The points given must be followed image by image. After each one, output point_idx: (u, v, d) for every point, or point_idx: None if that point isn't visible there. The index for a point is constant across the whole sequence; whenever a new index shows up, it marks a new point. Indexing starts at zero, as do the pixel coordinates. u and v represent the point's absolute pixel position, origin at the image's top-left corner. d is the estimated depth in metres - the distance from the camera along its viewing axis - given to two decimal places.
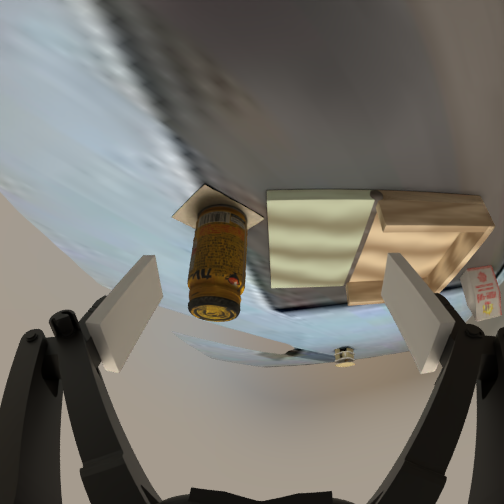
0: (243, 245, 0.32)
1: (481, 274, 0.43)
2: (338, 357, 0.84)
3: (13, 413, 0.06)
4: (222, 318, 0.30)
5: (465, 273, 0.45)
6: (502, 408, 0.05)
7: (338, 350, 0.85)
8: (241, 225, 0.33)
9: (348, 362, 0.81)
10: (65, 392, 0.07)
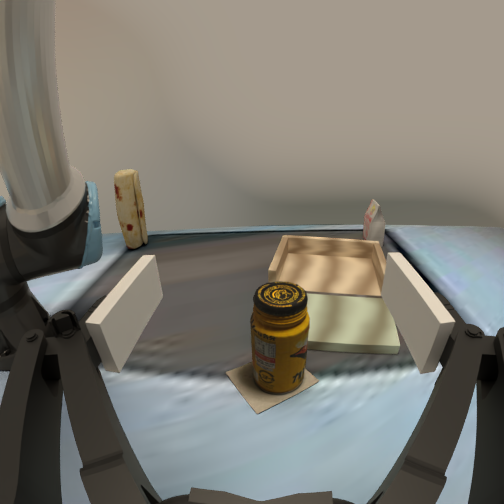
0: None
1: (366, 235, 0.70)
2: None
3: (13, 413, 0.06)
4: (296, 291, 0.28)
5: None
6: (502, 408, 0.05)
7: None
8: None
9: None
10: (65, 392, 0.07)
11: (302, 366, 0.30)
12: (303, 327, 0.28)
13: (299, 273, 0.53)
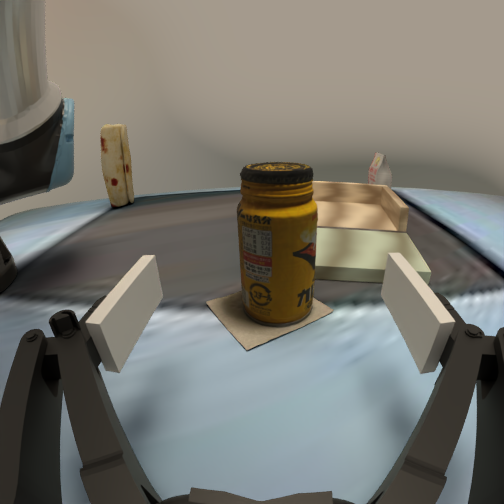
0: None
1: None
2: None
3: (13, 413, 0.06)
4: (297, 166, 0.21)
5: None
6: (502, 408, 0.05)
7: None
8: None
9: None
10: (65, 392, 0.07)
11: (310, 280, 0.22)
12: (309, 209, 0.20)
13: None
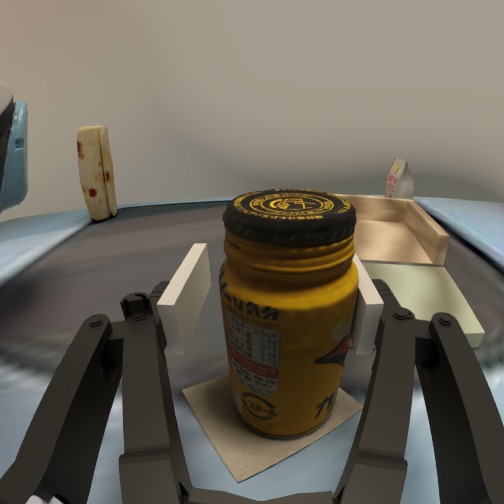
0: None
1: None
2: None
3: (59, 400, 0.07)
4: (327, 200, 0.12)
5: None
6: (452, 396, 0.07)
7: None
8: None
9: None
10: (124, 375, 0.08)
11: (337, 382, 0.13)
12: (349, 287, 0.11)
13: None
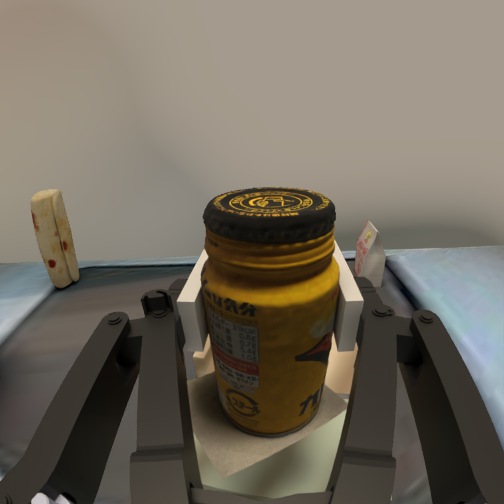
0: None
1: (358, 270, 0.51)
2: None
3: (72, 398, 0.07)
4: (307, 197, 0.12)
5: None
6: (437, 394, 0.07)
7: None
8: None
9: None
10: (141, 372, 0.08)
11: (321, 380, 0.13)
12: (329, 284, 0.11)
13: None
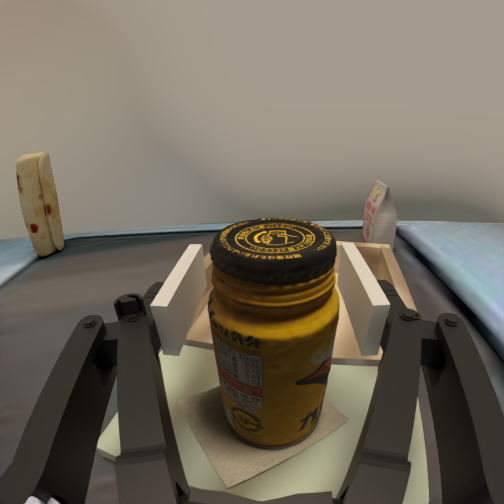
0: None
1: (367, 235, 0.45)
2: None
3: (54, 400, 0.07)
4: (310, 232, 0.12)
5: None
6: (457, 396, 0.07)
7: None
8: None
9: None
10: (118, 376, 0.08)
11: (320, 398, 0.14)
12: (329, 316, 0.11)
13: None
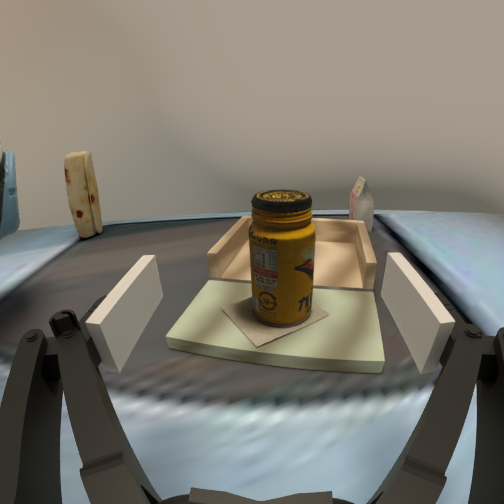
0: None
1: (351, 218, 0.58)
2: None
3: (13, 413, 0.06)
4: (299, 194, 0.26)
5: None
6: (502, 408, 0.05)
7: None
8: None
9: None
10: (65, 392, 0.07)
11: (309, 289, 0.27)
12: (308, 232, 0.25)
13: None
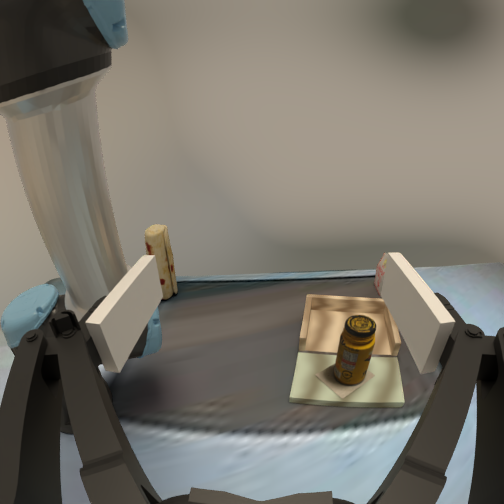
0: None
1: (377, 285, 0.76)
2: None
3: (13, 413, 0.06)
4: (369, 321, 0.44)
5: None
6: (502, 408, 0.05)
7: None
8: None
9: None
10: (65, 392, 0.07)
11: (368, 366, 0.45)
12: (373, 343, 0.43)
13: (323, 333, 0.60)
